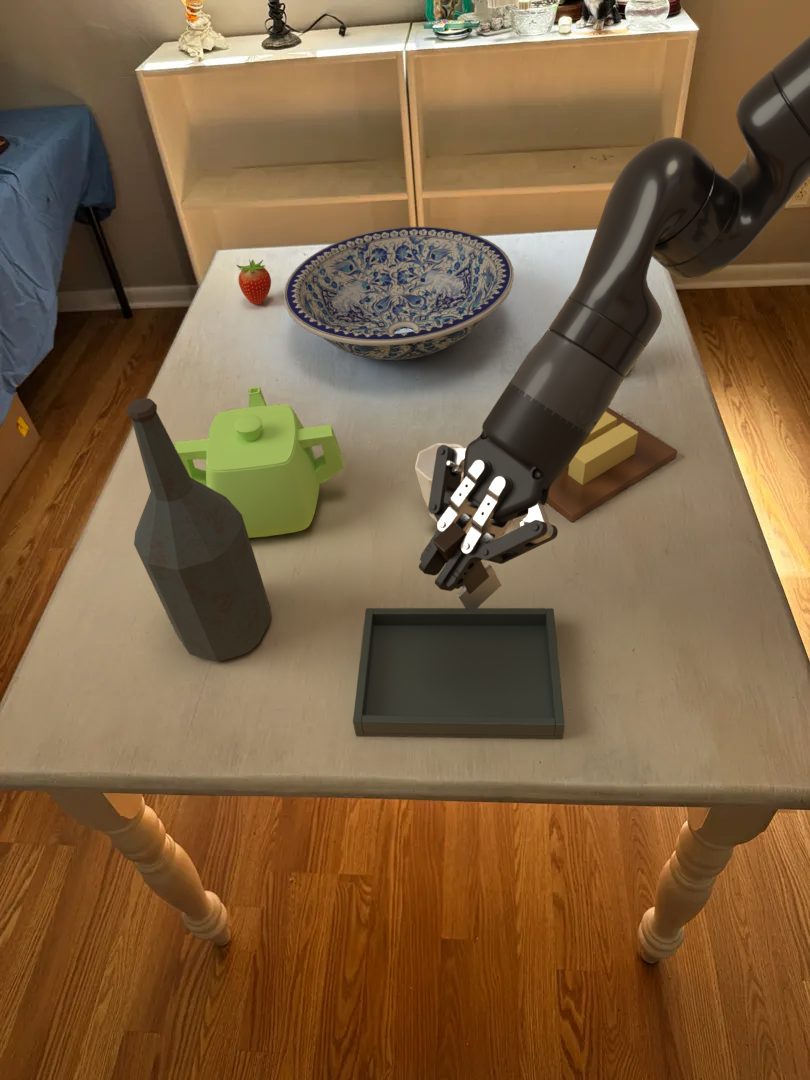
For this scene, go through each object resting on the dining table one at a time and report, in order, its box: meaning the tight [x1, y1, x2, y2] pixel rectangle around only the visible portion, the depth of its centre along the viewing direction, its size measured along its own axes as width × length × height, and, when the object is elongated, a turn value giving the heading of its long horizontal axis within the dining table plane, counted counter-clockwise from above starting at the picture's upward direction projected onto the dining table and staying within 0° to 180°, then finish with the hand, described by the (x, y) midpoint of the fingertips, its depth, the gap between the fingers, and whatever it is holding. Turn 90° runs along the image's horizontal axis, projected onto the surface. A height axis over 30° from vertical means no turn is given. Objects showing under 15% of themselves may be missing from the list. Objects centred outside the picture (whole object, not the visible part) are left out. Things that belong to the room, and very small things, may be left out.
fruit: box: [236, 259, 272, 306], centre depth 130 cm, size 5×5×8 cm
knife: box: [433, 522, 502, 614], centre depth 68 cm, size 4×2×12 cm, turn 126°
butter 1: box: [567, 411, 617, 467], centre depth 98 cm, size 9×2×4 cm, turn 126°
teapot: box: [173, 386, 345, 539], centre depth 95 cm, size 18×20×13 cm
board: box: [546, 406, 678, 523], centre depth 99 cm, size 18×12×1 cm, turn 126°
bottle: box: [125, 397, 272, 663], centre depth 75 cm, size 10×10×30 cm
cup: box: [414, 442, 465, 523], centre depth 92 cm, size 7×10×8 cm
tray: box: [352, 607, 565, 740], centre depth 78 cm, size 20×14×3 cm
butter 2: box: [568, 423, 638, 485], centre depth 96 cm, size 9×2×4 cm, turn 126°
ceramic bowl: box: [283, 226, 515, 361], centre depth 120 cm, size 34×34×10 cm
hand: (435, 579), depth 66 cm, fingers closed on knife, 1 cm apart
